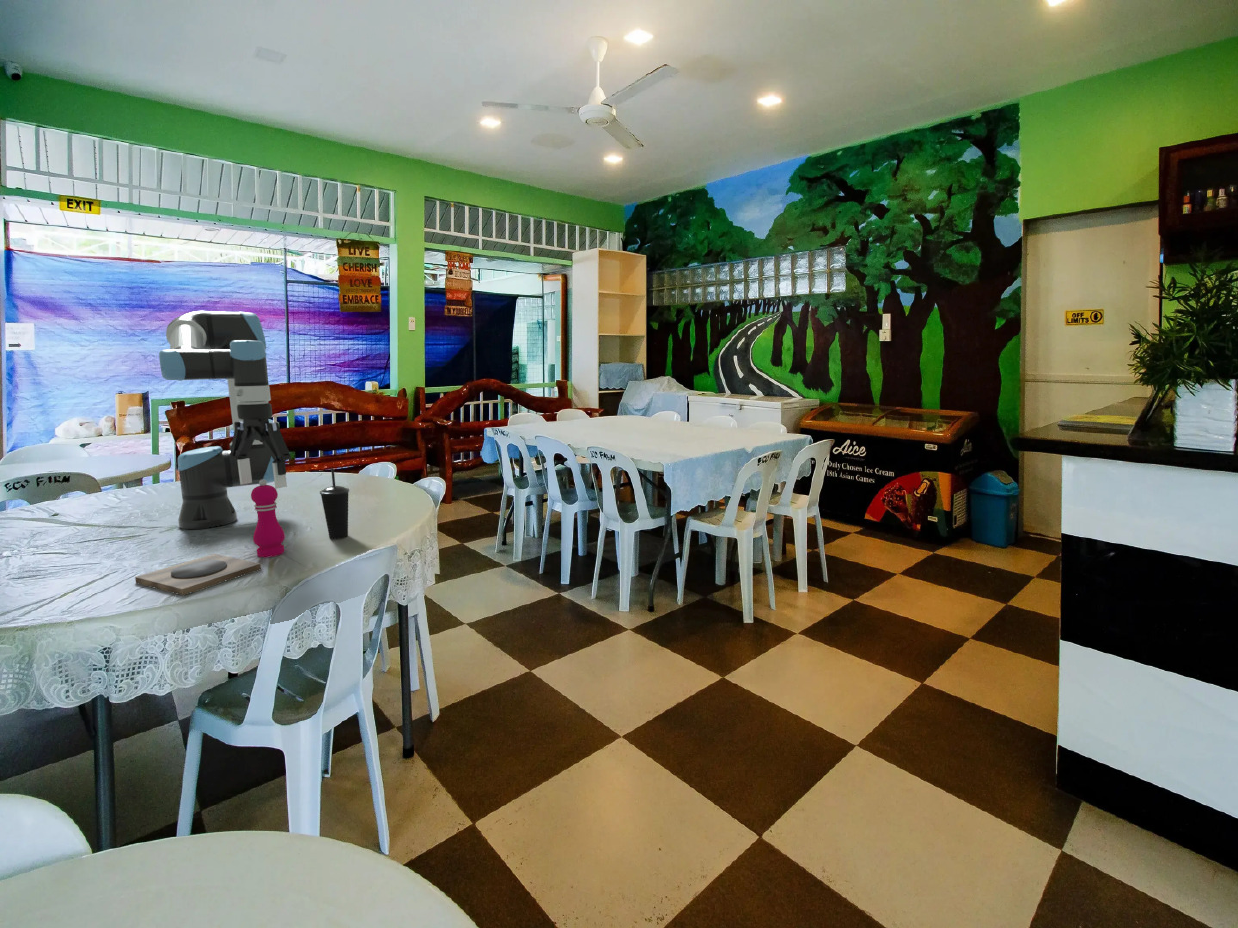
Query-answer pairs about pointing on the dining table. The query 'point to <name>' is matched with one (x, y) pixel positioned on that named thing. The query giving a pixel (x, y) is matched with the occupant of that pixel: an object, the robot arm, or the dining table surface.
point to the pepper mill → (267, 521)
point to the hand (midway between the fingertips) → (263, 485)
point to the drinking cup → (336, 509)
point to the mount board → (197, 574)
